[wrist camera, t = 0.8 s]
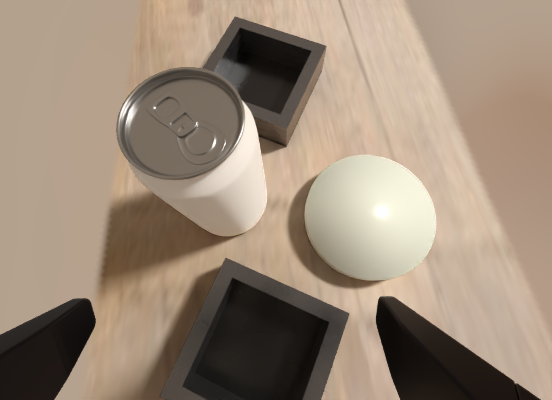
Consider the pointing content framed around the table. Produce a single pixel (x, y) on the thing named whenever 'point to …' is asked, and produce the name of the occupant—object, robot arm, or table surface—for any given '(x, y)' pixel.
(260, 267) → the table surface
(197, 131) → the can
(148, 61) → the table surface
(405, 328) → the robot arm
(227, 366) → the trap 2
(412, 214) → the pad
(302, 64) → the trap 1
